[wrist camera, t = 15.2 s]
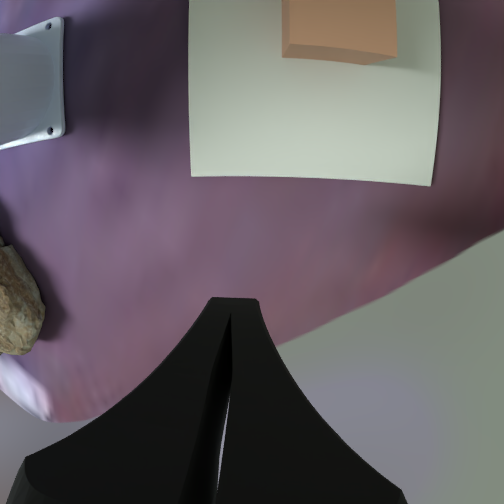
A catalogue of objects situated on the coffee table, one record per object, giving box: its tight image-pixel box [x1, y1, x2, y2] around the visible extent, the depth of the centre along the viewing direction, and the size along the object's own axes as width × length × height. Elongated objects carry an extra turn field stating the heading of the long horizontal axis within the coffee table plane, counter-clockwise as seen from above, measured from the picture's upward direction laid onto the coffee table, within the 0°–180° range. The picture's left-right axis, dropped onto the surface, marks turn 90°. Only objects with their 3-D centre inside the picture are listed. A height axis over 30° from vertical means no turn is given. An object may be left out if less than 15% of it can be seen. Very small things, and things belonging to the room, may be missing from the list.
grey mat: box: [188, 0, 441, 186], centre depth 15 cm, size 14×12×1 cm
